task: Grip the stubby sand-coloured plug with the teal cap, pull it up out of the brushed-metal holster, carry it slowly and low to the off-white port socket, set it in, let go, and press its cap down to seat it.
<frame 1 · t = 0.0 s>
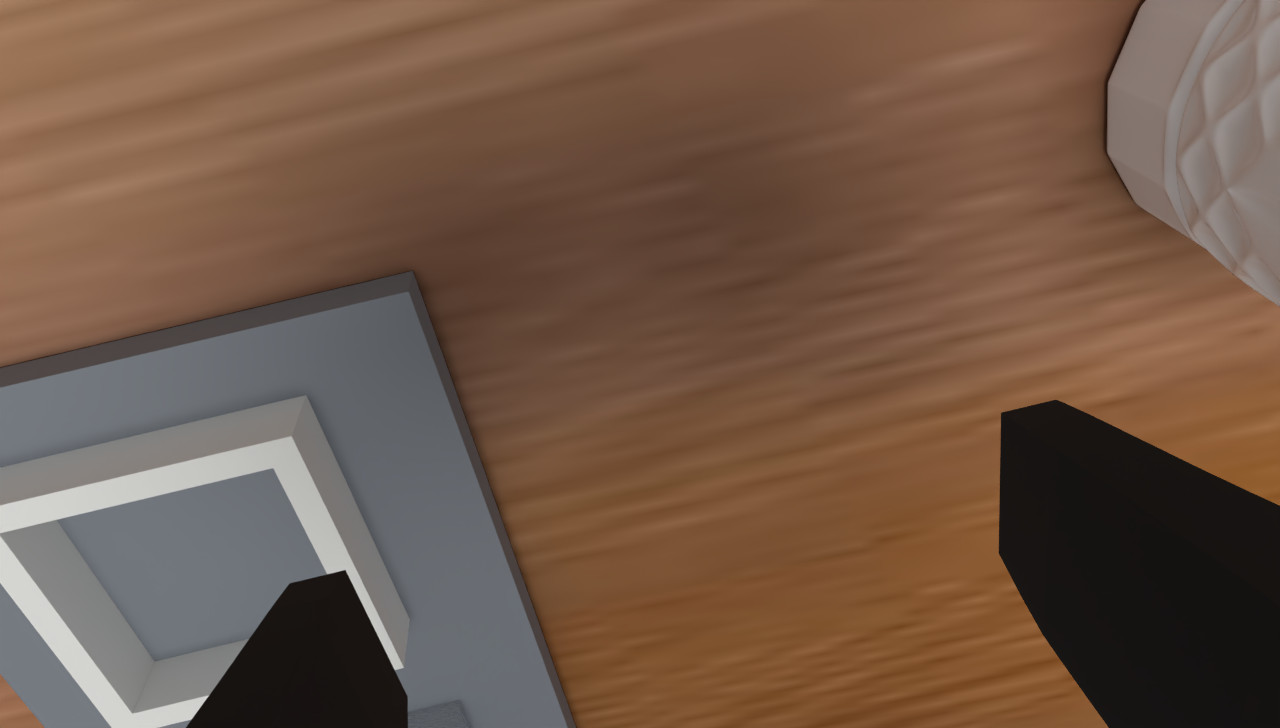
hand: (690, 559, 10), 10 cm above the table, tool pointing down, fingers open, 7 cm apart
port: (228, 522, 21), resting on panel plate
panel plate: (310, 666, 23), on the table
white cup: (1248, 69, 19), on the table
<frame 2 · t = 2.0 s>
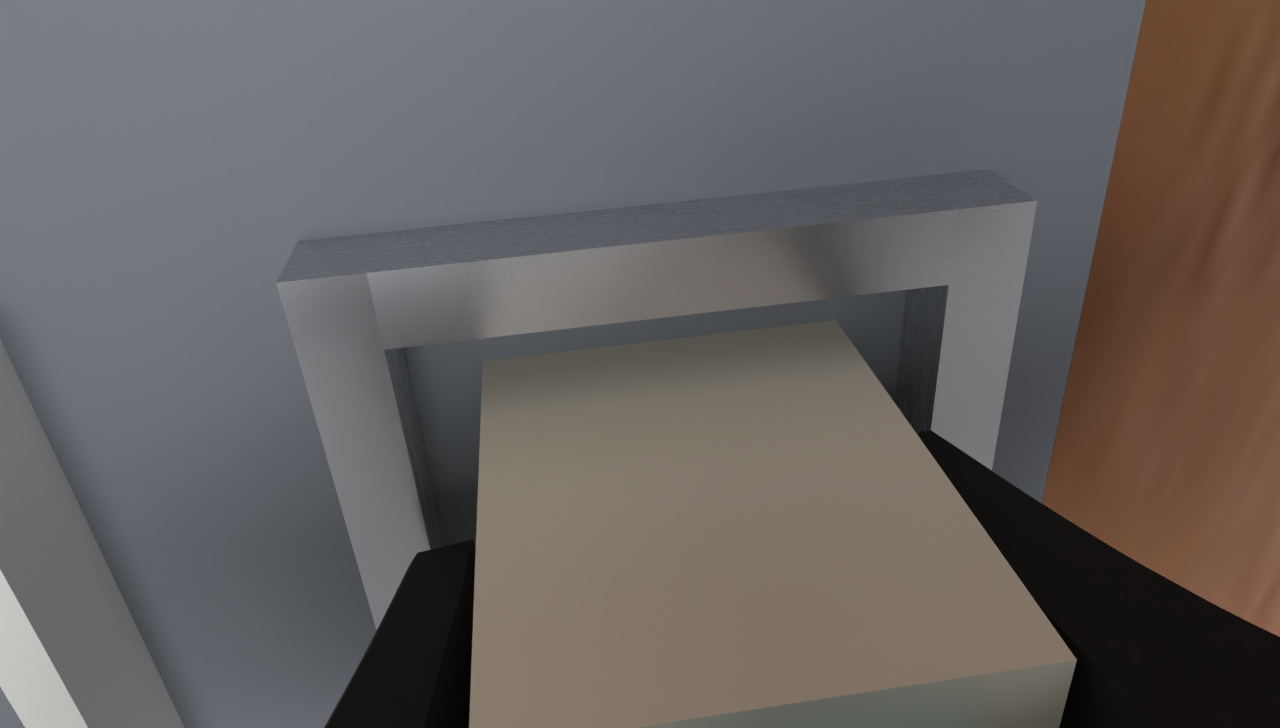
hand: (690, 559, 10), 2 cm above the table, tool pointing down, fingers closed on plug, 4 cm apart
holster: (657, 437, 12), resting on panel plate
panel plate: (271, 485, 12), on the table
plug: (669, 482, 11), point 1 cm above the table, touching gripper, panel plate
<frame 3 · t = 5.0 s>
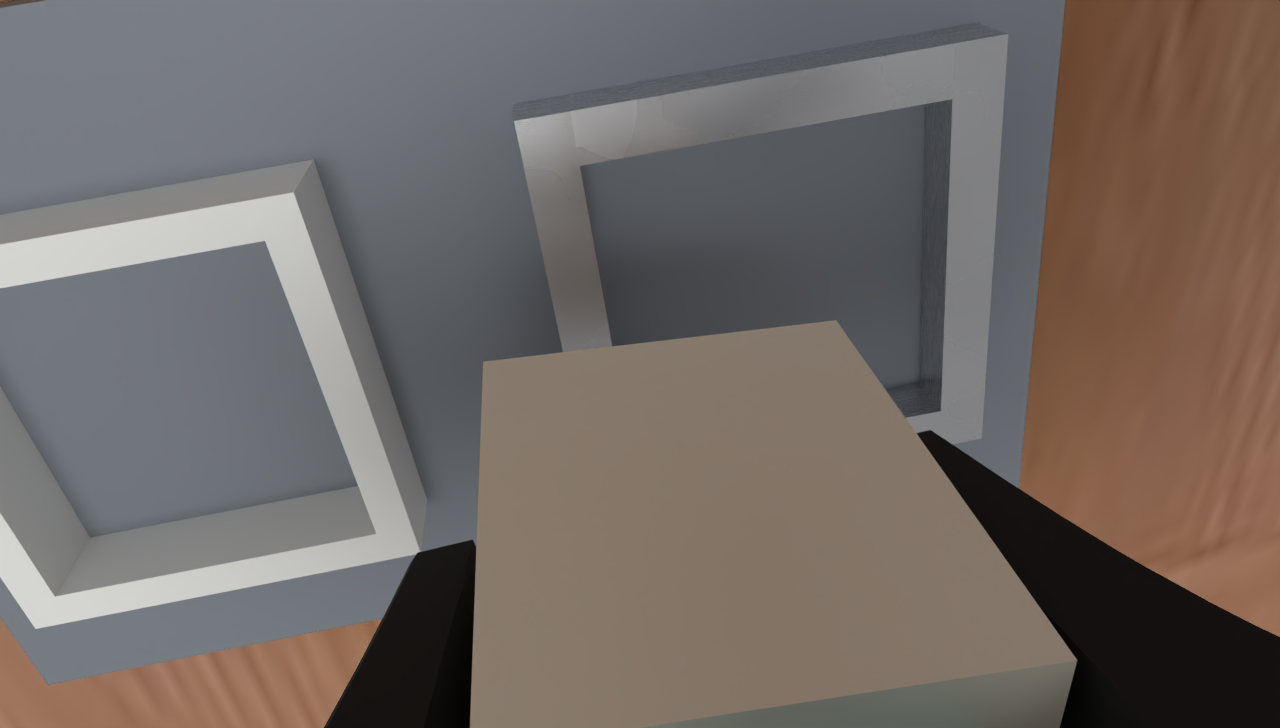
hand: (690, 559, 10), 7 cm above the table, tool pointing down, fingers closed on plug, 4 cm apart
holster: (750, 253, 16), resting on panel plate
port: (197, 355, 16), resting on panel plate
panel plate: (477, 303, 16), on the table
plug: (670, 482, 11), point 6 cm above the table, touching gripper
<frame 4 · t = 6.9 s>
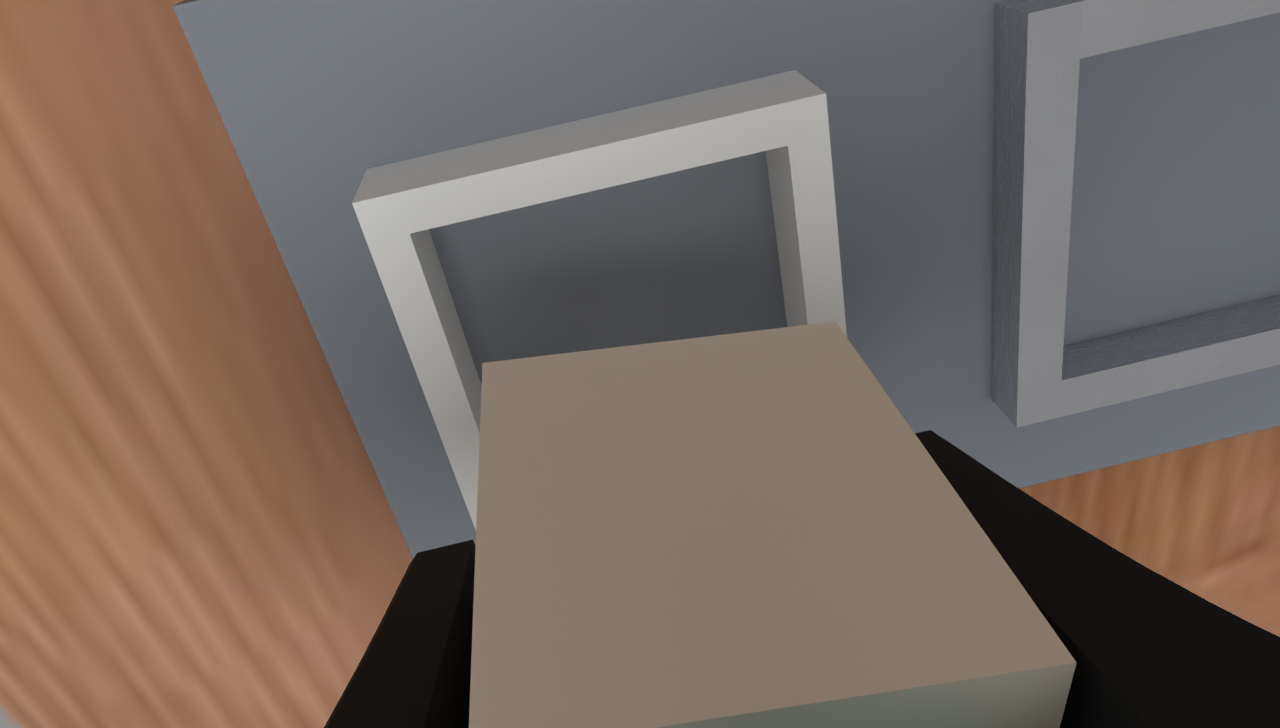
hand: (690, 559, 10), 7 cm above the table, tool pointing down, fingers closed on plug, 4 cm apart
holster: (1159, 158, 16), resting on panel plate
port: (618, 286, 16), resting on panel plate
panel plate: (890, 222, 16), on the table
plug: (669, 484, 11), point 6 cm above the table, touching gripper
when the fingers open (3 cm above the table, at t = 8.2 s): plug stays where it is, resting on panel plate.
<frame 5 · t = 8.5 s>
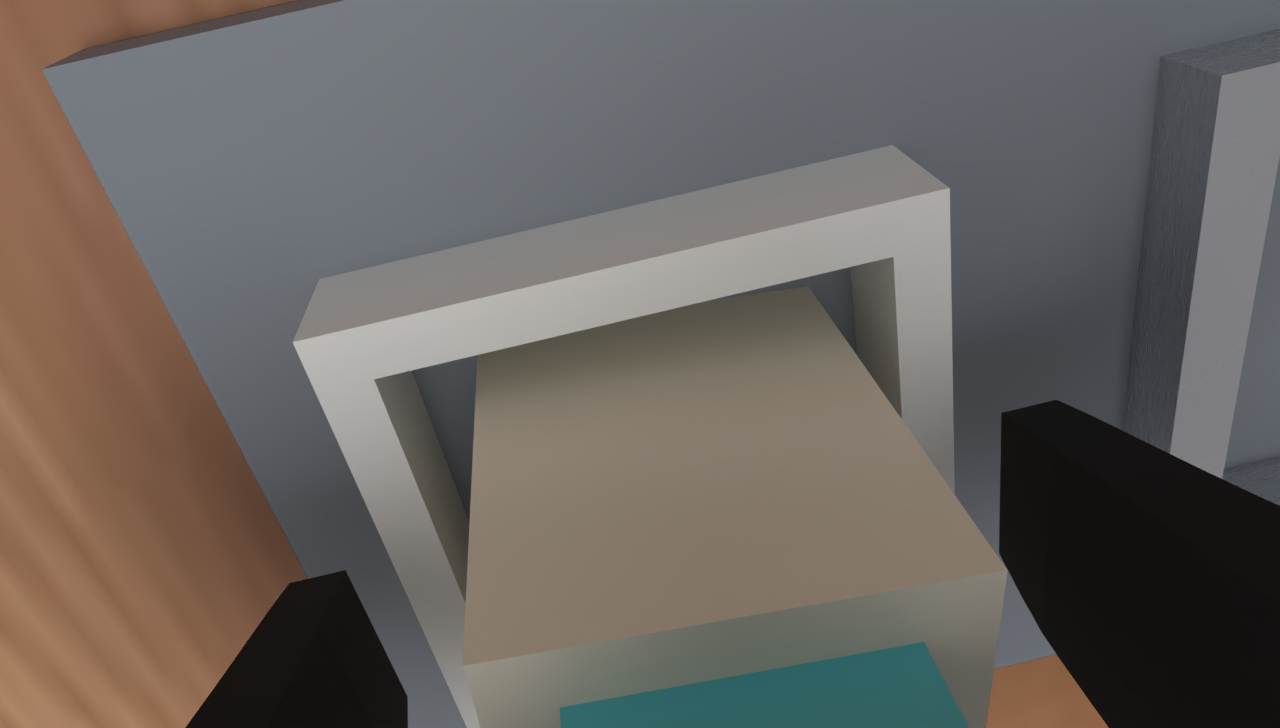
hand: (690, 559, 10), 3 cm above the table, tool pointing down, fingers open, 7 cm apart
port: (649, 404, 13), resting on panel plate
panel plate: (994, 322, 13), on the table
plug: (660, 446, 12), point 1 cm above the table, touching panel plate
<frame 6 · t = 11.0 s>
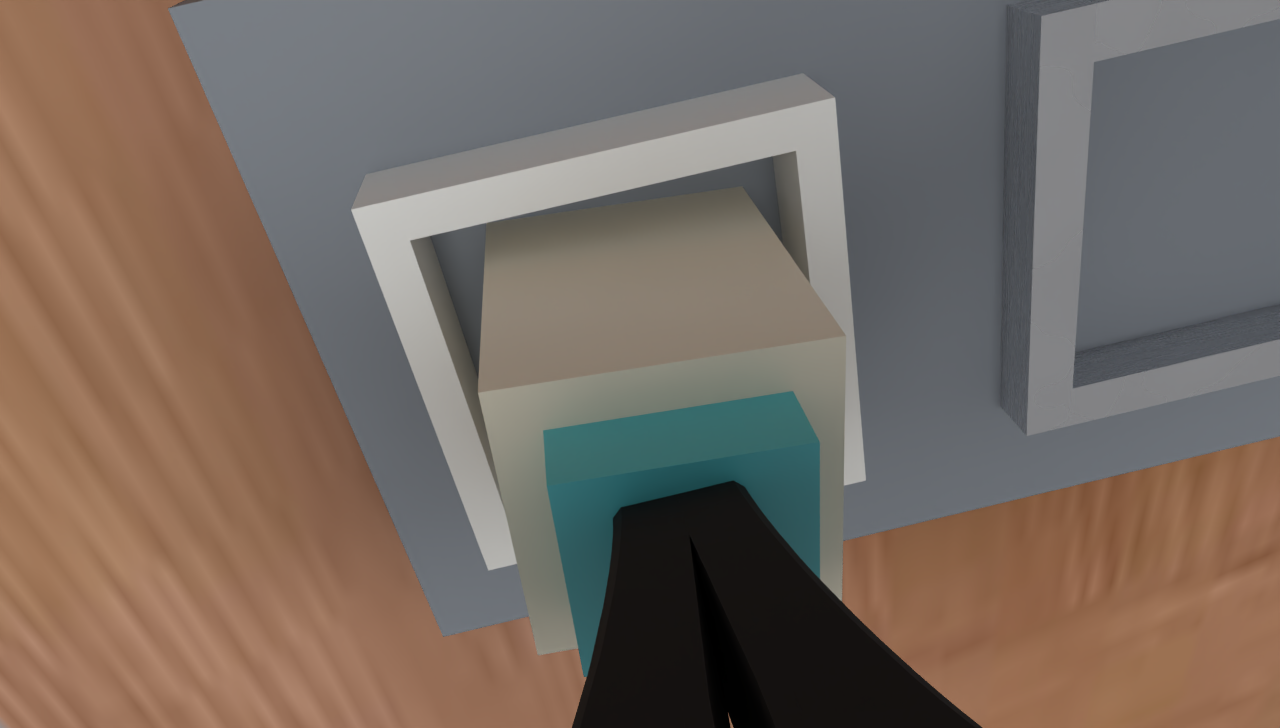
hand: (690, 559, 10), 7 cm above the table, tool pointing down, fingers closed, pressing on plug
holster: (1172, 163, 16), resting on panel plate
port: (622, 292, 16), resting on panel plate
panel plate: (898, 227, 16), on the table
plug: (629, 318, 15), point 1 cm above the table, touching gripper, panel plate
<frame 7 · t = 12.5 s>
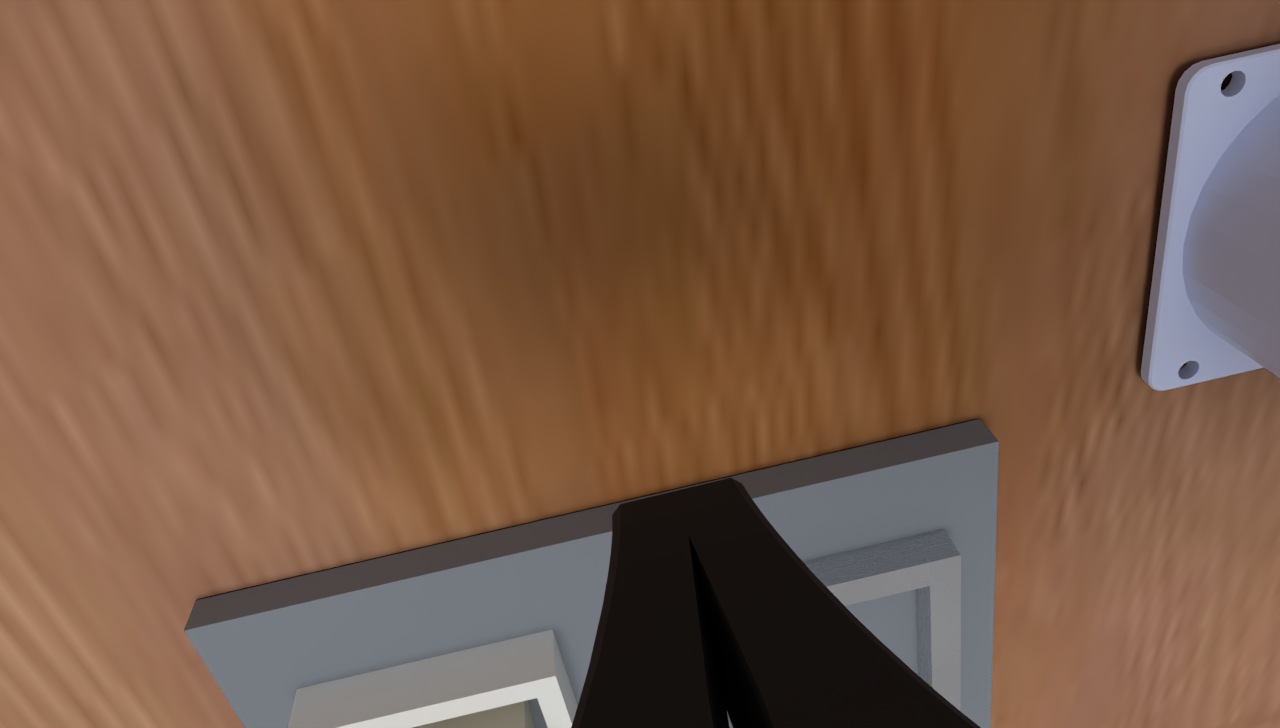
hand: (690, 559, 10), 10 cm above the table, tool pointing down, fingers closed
holster: (807, 629, 26), resting on panel plate
port: (462, 710, 25), resting on panel plate
panel plate: (635, 670, 26), on the table
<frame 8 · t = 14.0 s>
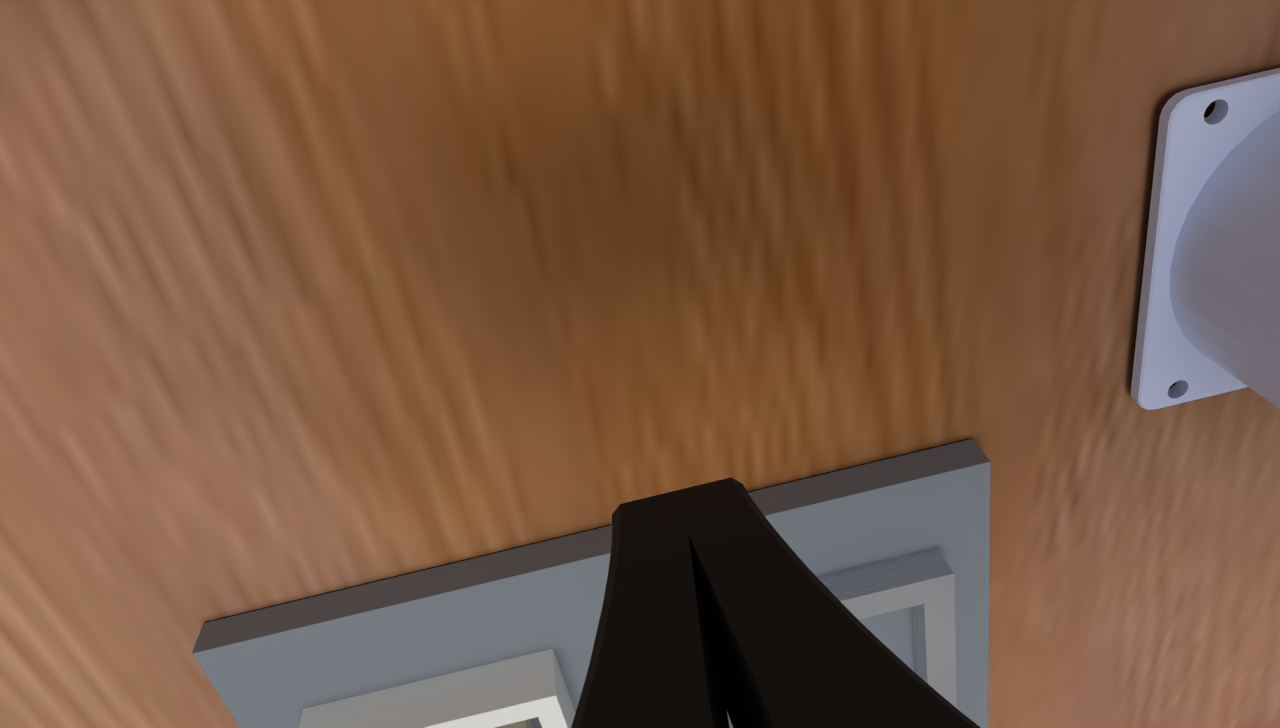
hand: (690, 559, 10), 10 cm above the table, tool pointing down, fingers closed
holster: (805, 645, 26), resting on panel plate
port: (466, 727, 26), resting on panel plate
panel plate: (636, 686, 26), on the table
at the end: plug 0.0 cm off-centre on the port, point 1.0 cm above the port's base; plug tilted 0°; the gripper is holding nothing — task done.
